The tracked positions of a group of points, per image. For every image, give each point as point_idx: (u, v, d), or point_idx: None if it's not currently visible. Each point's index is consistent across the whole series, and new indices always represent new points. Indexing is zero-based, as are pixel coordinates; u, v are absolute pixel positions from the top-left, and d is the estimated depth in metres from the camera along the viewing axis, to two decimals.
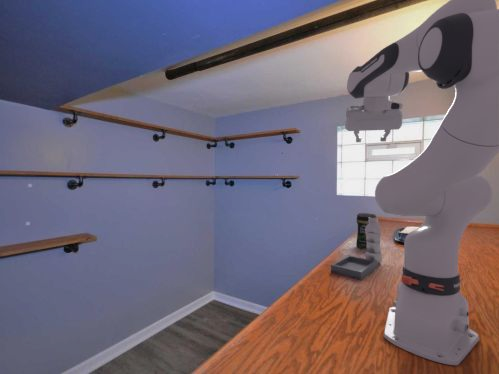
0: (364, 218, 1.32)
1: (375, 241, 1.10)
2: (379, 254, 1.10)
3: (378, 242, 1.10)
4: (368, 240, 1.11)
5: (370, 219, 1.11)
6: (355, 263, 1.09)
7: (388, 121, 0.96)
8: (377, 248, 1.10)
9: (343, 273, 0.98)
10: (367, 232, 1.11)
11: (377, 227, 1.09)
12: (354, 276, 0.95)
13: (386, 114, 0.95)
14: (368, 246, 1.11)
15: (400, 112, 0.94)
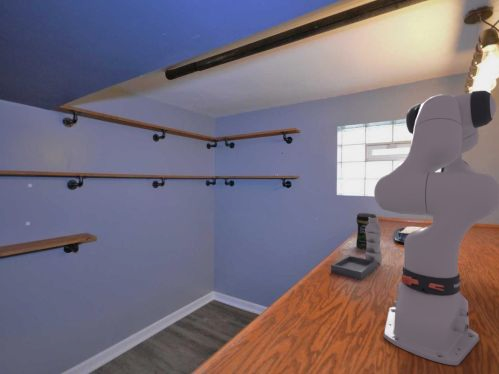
0: (364, 218, 1.32)
1: (375, 241, 1.10)
2: (379, 254, 1.10)
3: (378, 242, 1.10)
4: (368, 240, 1.11)
5: (370, 219, 1.11)
6: (355, 263, 1.09)
7: None
8: (377, 248, 1.10)
9: (343, 273, 0.98)
10: (367, 232, 1.11)
11: (377, 227, 1.09)
12: (354, 276, 0.95)
13: None
14: (368, 246, 1.11)
15: None
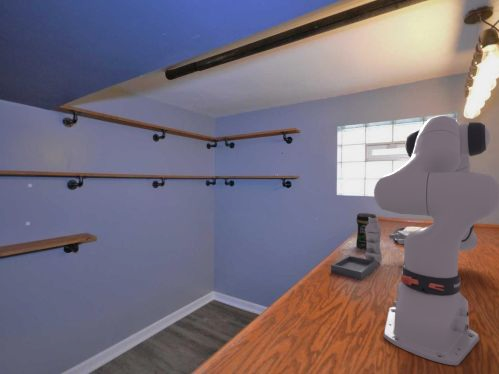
0: (364, 218, 1.32)
1: (375, 241, 1.10)
2: (379, 254, 1.10)
3: (378, 242, 1.10)
4: (368, 240, 1.11)
5: (370, 219, 1.11)
6: (355, 263, 1.09)
7: None
8: (377, 248, 1.10)
9: (343, 273, 0.98)
10: (367, 232, 1.11)
11: (377, 227, 1.09)
12: (354, 276, 0.95)
13: None
14: (368, 246, 1.11)
15: None
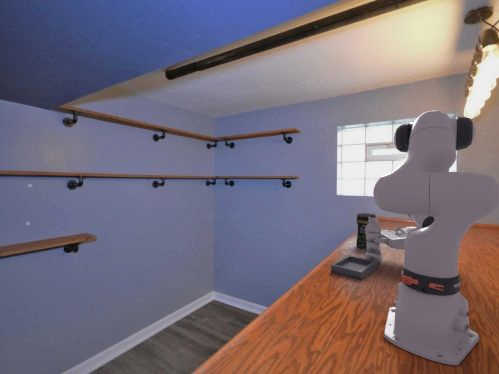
0: (364, 218, 1.32)
1: None
2: (379, 254, 1.10)
3: None
4: (368, 240, 1.11)
5: (370, 219, 1.11)
6: (355, 263, 1.09)
7: (394, 236, 1.06)
8: (377, 248, 1.10)
9: (343, 273, 0.98)
10: (367, 232, 1.11)
11: (377, 227, 1.09)
12: (354, 276, 0.95)
13: (400, 236, 1.07)
14: (368, 246, 1.11)
15: (406, 237, 1.02)
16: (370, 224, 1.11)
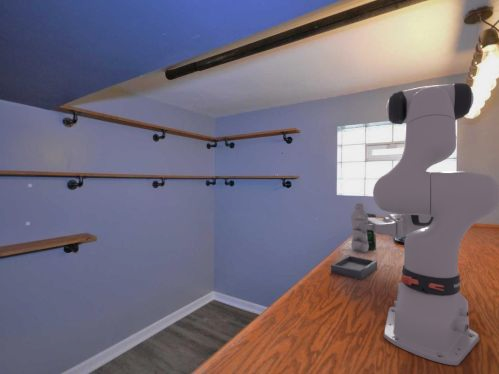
0: None
1: None
2: (365, 243, 1.03)
3: (364, 230, 1.03)
4: (354, 228, 1.04)
5: (356, 205, 1.04)
6: (355, 263, 1.09)
7: (381, 222, 0.99)
8: (363, 236, 1.03)
9: (343, 273, 0.98)
10: (353, 219, 1.04)
11: (363, 214, 1.03)
12: (354, 276, 0.95)
13: (387, 221, 1.00)
14: (354, 234, 1.04)
15: (393, 222, 0.95)
16: (356, 211, 1.04)
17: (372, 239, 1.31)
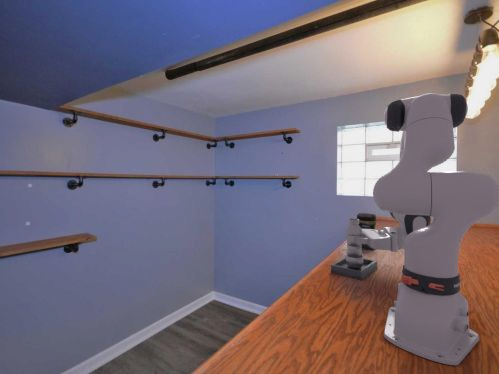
0: (364, 218, 1.32)
1: (356, 244, 1.01)
2: (360, 259, 1.01)
3: (359, 246, 1.01)
4: (348, 243, 1.03)
5: (350, 221, 1.02)
6: None
7: (376, 236, 0.97)
8: (358, 252, 1.01)
9: (343, 273, 0.98)
10: (347, 235, 1.02)
11: (358, 229, 1.01)
12: (354, 276, 0.95)
13: (382, 235, 0.98)
14: (348, 250, 1.03)
15: (388, 236, 0.93)
16: (350, 226, 1.02)
17: None
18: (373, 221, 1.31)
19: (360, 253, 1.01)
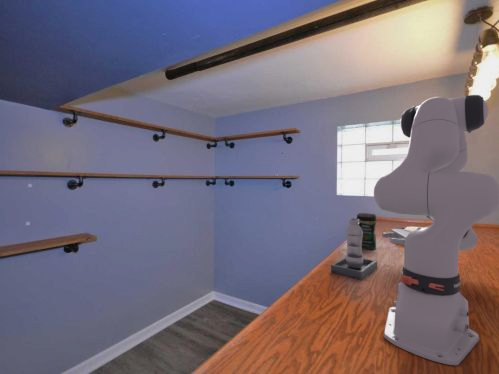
0: (364, 218, 1.32)
1: (356, 244, 1.01)
2: (360, 259, 1.01)
3: (359, 246, 1.01)
4: (348, 243, 1.03)
5: (351, 221, 1.02)
6: None
7: None
8: (358, 252, 1.01)
9: (343, 273, 0.98)
10: (347, 235, 1.02)
11: (358, 229, 1.01)
12: (354, 276, 0.95)
13: None
14: (348, 250, 1.03)
15: None
16: (351, 226, 1.02)
17: (372, 239, 1.31)
18: (373, 221, 1.31)
19: (360, 253, 1.01)
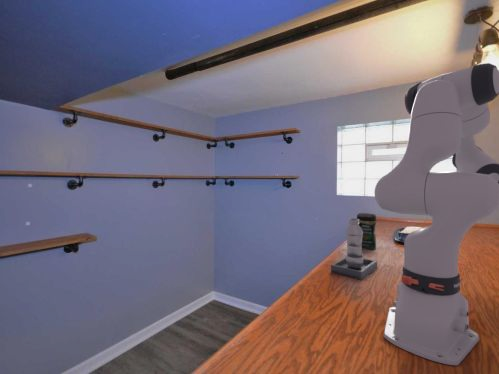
0: (364, 218, 1.32)
1: (356, 244, 1.01)
2: (360, 259, 1.01)
3: (359, 246, 1.01)
4: (348, 243, 1.03)
5: (351, 221, 1.02)
6: None
7: None
8: (358, 252, 1.01)
9: (343, 273, 0.98)
10: (347, 235, 1.02)
11: (358, 229, 1.01)
12: (354, 276, 0.95)
13: None
14: (348, 250, 1.03)
15: None
16: (351, 226, 1.02)
17: (372, 239, 1.31)
18: (373, 221, 1.31)
19: (360, 253, 1.01)
